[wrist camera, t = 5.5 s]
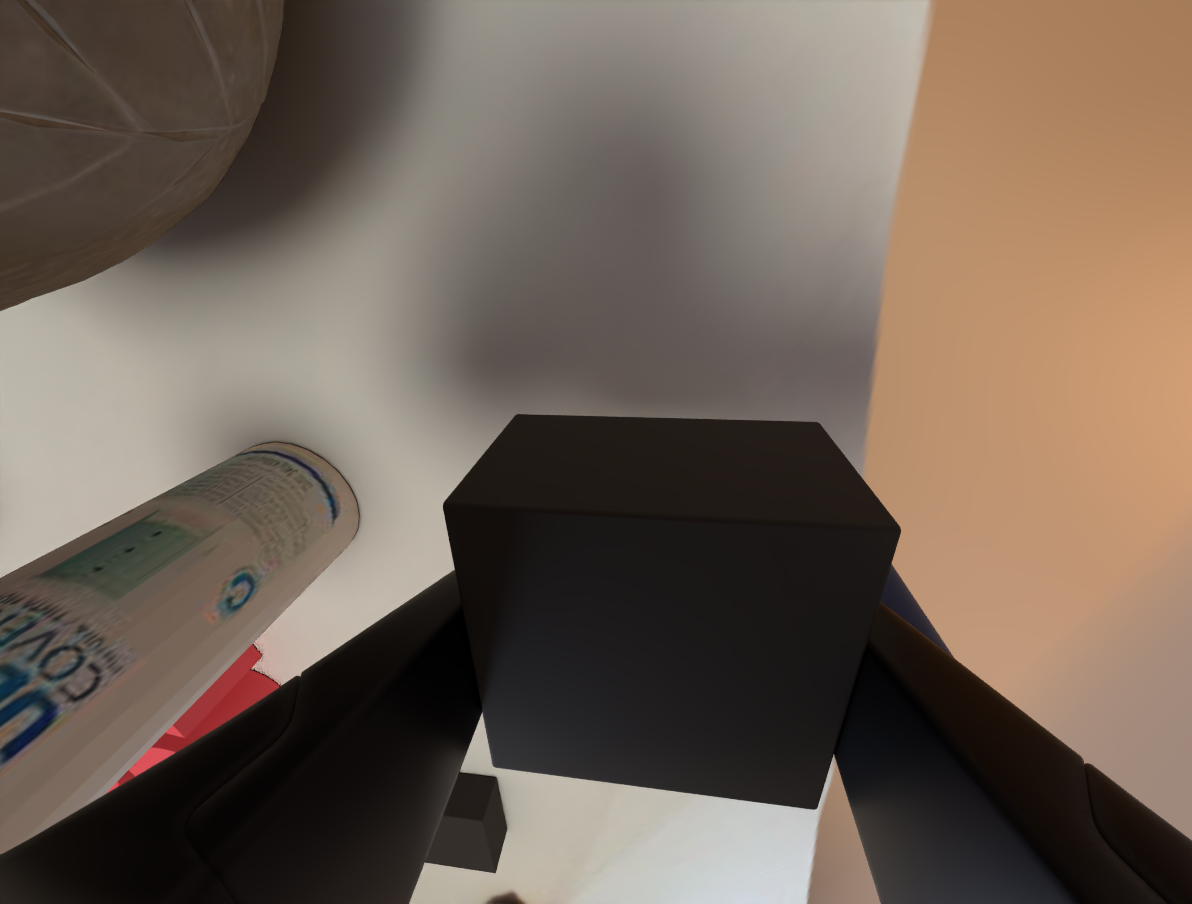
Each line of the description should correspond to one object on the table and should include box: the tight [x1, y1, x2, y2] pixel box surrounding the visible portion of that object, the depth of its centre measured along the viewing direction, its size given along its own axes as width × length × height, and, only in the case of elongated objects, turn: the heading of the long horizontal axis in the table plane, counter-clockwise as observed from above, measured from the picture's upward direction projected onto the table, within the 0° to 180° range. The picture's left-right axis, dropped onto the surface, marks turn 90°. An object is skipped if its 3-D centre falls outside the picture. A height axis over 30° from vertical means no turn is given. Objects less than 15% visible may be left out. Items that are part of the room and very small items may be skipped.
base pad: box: [425, 773, 507, 873], centre depth 31 cm, size 6×6×2 cm
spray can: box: [0, 443, 359, 854], centre depth 13 cm, size 6×6×20 cm
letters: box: [107, 645, 280, 793], centre depth 26 cm, size 14×10×5 cm
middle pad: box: [443, 414, 901, 810], centre depth 8 cm, size 5×5×3 cm
